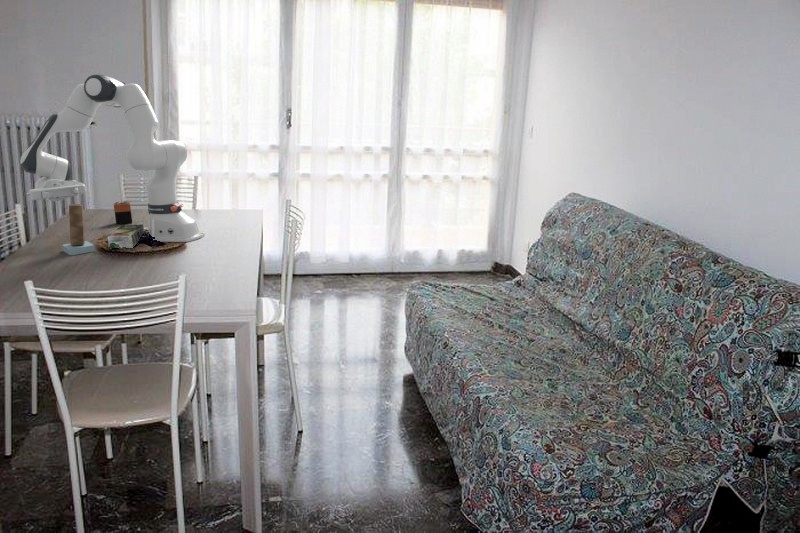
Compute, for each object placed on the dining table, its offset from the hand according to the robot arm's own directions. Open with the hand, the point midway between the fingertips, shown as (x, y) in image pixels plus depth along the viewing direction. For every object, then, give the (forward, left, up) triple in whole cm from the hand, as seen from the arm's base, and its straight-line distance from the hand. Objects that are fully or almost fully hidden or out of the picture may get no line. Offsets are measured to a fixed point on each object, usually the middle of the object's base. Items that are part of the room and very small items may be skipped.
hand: (63, 193), depth 266 cm
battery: (+5, -40, -21) cm, 46 cm away
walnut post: (-9, +7, -18) cm, 21 cm away
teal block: (-9, +7, -21) cm, 24 cm away
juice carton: (-20, -8, -21) cm, 30 cm away
